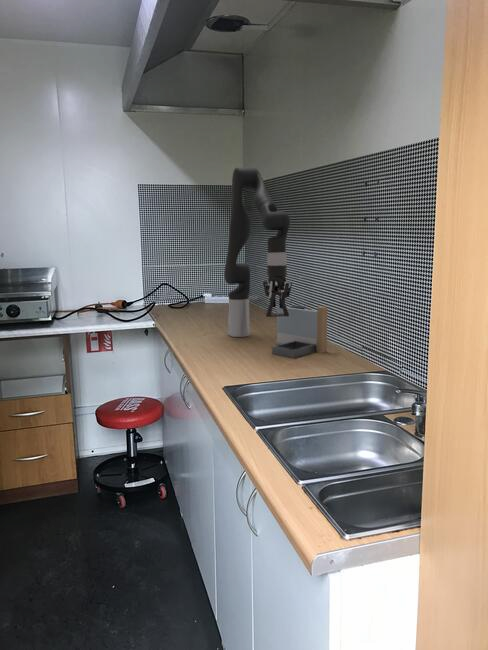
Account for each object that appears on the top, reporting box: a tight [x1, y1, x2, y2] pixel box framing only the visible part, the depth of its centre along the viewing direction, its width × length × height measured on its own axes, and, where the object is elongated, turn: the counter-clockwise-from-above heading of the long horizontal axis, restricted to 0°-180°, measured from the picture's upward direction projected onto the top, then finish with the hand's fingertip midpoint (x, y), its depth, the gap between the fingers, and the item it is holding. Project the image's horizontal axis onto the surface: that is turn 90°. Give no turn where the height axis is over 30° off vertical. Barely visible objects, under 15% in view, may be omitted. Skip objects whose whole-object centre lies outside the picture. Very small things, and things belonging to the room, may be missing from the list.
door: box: [276, 306, 328, 354], centre depth 217 cm, size 24×3×18 cm, turn 45°
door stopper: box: [265, 286, 289, 318], centre depth 209 cm, size 9×6×12 cm, turn 86°
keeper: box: [271, 341, 317, 359], centre depth 210 cm, size 11×14×3 cm
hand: (277, 307), depth 209 cm, fingers closed on door stopper, 4 cm apart
